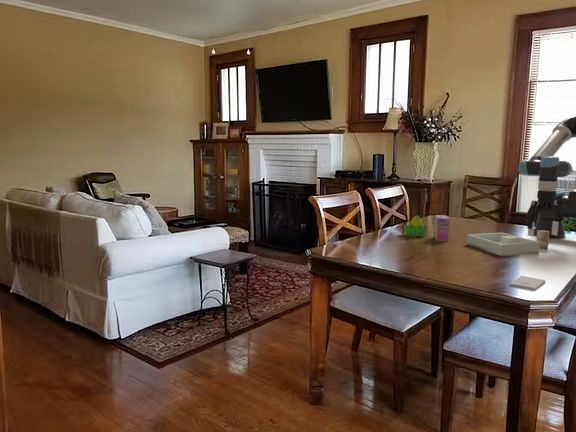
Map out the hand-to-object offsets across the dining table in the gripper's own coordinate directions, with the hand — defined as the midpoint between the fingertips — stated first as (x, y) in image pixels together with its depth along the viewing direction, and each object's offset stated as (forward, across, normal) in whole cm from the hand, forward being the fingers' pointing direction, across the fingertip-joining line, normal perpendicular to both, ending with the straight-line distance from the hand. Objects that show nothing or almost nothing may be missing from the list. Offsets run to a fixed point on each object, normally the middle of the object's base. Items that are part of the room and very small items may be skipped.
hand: (542, 235), depth 217 cm
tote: (+6, +19, -3) cm, 21 cm away
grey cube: (+5, +19, +2) cm, 20 cm away
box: (+7, +34, -29) cm, 46 cm away
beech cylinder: (+6, -1, 0) cm, 6 cm away
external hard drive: (+8, +49, +46) cm, 68 cm away
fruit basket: (+7, +42, -41) cm, 60 cm away
